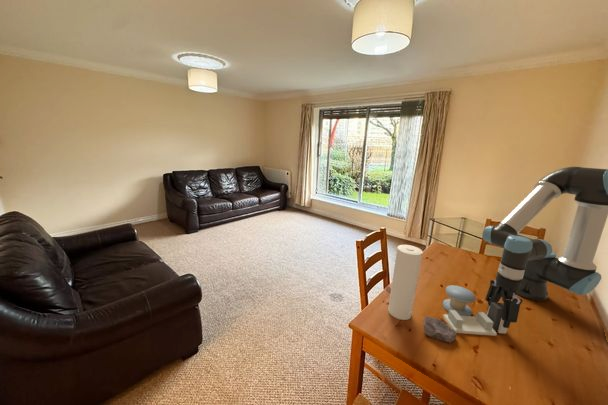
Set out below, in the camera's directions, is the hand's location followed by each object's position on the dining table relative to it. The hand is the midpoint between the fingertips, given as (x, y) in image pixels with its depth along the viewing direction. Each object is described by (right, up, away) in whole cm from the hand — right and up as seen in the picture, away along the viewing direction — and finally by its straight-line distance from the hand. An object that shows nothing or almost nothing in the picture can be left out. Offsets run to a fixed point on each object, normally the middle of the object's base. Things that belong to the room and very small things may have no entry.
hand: (495, 325), depth 101 cm
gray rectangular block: (0, -1, 0) cm, 0 cm away
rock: (-26, -1, -5) cm, 27 cm away
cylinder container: (-37, +3, +6) cm, 37 cm away
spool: (-9, +3, +10) cm, 14 cm away
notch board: (-11, 0, 0) cm, 11 cm away
